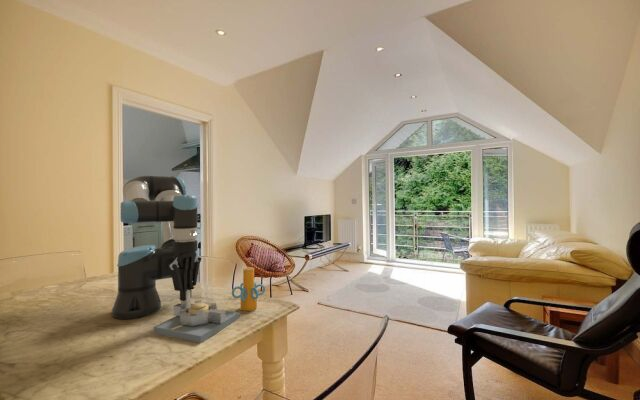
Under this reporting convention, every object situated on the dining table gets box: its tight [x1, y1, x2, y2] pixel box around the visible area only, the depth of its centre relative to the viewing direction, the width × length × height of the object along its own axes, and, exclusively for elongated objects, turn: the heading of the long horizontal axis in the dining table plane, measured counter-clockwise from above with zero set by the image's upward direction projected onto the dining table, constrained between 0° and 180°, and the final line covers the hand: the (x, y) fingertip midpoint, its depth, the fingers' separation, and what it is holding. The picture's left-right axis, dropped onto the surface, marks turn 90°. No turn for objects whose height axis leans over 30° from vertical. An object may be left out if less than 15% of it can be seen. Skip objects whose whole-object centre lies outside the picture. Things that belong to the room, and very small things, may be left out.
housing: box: [153, 302, 240, 344], centre depth 94 cm, size 18×18×7 cm
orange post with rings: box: [231, 266, 266, 312], centre depth 108 cm, size 12×10×15 cm
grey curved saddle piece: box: [173, 299, 226, 326], centre depth 94 cm, size 19×11×4 cm, turn 70°
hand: (185, 308), depth 99 cm, fingers closed
